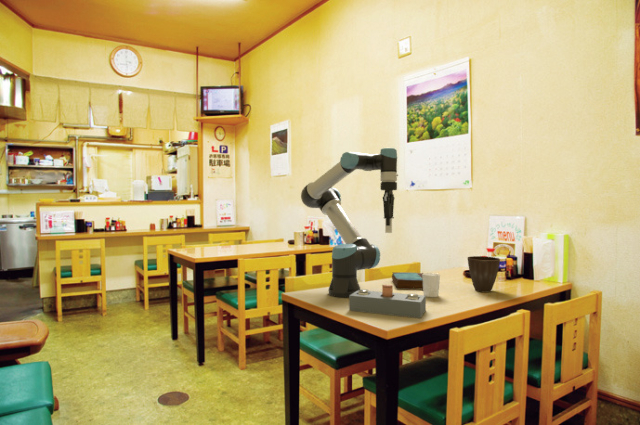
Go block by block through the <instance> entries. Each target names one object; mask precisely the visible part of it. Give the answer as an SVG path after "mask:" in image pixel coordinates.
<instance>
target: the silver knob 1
mask: <svg viewBox="0 0 640 425" xmlns="http://www.w3.org/2000/svg"><path fill="white" fill-rule="evenodd" d="M368 291H369V290H368V289H365V288H364V289H363V288H362V289H360V290H359V294H360V295H368Z"/></svg>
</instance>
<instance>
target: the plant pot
mask: <svg viewBox="0 0 640 425" xmlns="http://www.w3.org/2000/svg"><path fill="white" fill-rule="evenodd" d="M500 263H501V259H500V258H499V257H494V256H481V255H480V256H478V255H476V256H474V255H473V256H467V265H468V271H469V275H470V278H471V283H472V285H473V288H474V291H477V292H481V293H489V292H492V290H493V288H494V285H495V283H496V279H497V277H498V273H499V270H500Z"/></svg>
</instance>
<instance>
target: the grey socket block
mask: <svg viewBox="0 0 640 425" xmlns="http://www.w3.org/2000/svg"><path fill="white" fill-rule="evenodd" d="M407 294H408V293H401V292H400V293H399V292H393V297H382V291H379V290H377V291H376V290H368V295H360V294H359V290H358V291H356V292H354V293H353V294H351V295H349V297H348V298H349V299H348V300H349V302H348V308H349V309H348V310H351V312H359V313H370V314H377V313H378V314H379V315H386V314H387V315H388V316H395V315H396V317H404V316H407V317H408V318H415V319H421V318H422V317H423V315H424V314H425V312H426V309H427V308H426V307H427V305H426V304H427V302H426V301H427V297H426V296H425V295H424V294H418V300H415V299H407ZM378 314H377V315H378ZM407 317H406V318H407Z"/></svg>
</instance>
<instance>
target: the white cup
mask: <svg viewBox="0 0 640 425" xmlns="http://www.w3.org/2000/svg"><path fill="white" fill-rule="evenodd" d="M422 273H423V274H422V279H423V289H422V290H423V291H422V292H423V293H422V294H423V295H425V296H426V298H437V297H439V294H440V292H439V291H440V283H441V282H440V278H441V275H440V273H435V272H434V273H433V272H422Z"/></svg>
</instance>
